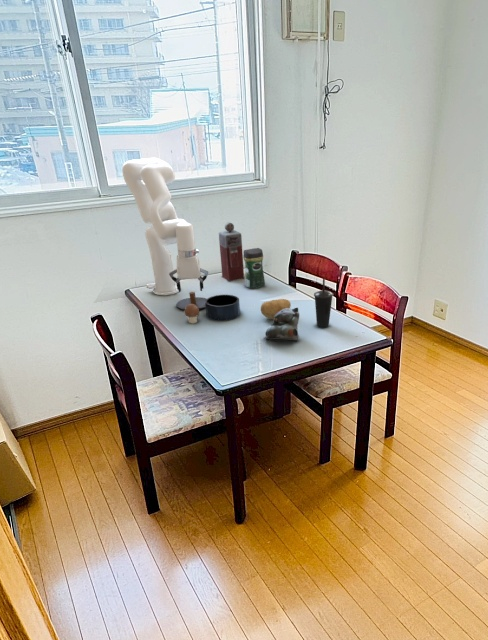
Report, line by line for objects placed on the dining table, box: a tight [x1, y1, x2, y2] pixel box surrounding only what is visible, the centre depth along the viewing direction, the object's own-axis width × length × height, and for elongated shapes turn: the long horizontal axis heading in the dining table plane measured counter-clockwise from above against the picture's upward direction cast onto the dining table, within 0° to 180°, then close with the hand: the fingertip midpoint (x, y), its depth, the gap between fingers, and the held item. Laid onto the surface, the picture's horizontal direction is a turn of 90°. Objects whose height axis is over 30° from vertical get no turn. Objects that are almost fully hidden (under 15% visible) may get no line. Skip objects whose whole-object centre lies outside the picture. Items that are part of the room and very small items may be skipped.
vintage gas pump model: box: [218, 221, 245, 282], centre depth 254 cm, size 9×11×28 cm
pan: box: [205, 294, 241, 322], centre depth 216 cm, size 15×15×6 cm
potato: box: [260, 298, 291, 320], centre depth 211 cm, size 10×14×8 cm
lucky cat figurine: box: [263, 307, 300, 342], centre depth 191 cm, size 15×12×14 cm
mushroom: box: [183, 304, 200, 324], centre depth 209 cm, size 6×6×8 cm
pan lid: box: [175, 291, 207, 311], centre depth 226 cm, size 16×16×6 cm
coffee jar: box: [243, 247, 266, 289], centre depth 245 cm, size 10×8×19 cm
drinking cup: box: [313, 277, 334, 329], centre depth 199 cm, size 8×8×20 cm
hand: (190, 290), depth 225 cm, fingers open, 9 cm apart
